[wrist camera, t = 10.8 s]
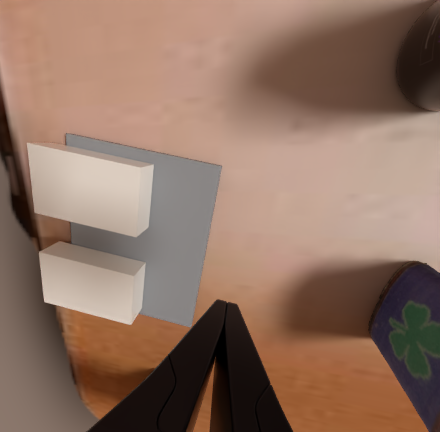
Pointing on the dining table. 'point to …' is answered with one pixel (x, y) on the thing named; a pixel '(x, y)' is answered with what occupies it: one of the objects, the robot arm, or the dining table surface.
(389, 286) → the flask
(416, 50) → the supplement bottle
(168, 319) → the mat
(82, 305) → the tile
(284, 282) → the dining table surface
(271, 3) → the dining table surface
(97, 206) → the tile
